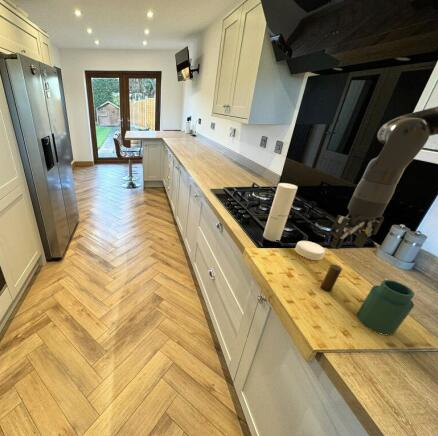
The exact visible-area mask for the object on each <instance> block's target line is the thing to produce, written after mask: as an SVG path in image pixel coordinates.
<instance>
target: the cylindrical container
mask: <svg viewBox="0 0 438 436" xmlns="http://www.w3.org/2000/svg"><path fill="white" fill-rule="evenodd" d="M297 191H298V185H295V184H292V183H286V182H279V183H278V185H277V187H276V190H275V194H274V197H273V201H272V204H271V207H270V211H269V214H268V218H267V221H266V224H265V228H264V231H263V236H262V237H263V238H264V239H266V240H268V241H270V242H277V241H276V240H279V241H280V240H281V238H282V235H283V232H284V229H285V226H286V224H287V220H288V218H289V215H290V211H291V208H292V205H293V203H294V200H295V196H296V194H297Z"/></svg>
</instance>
